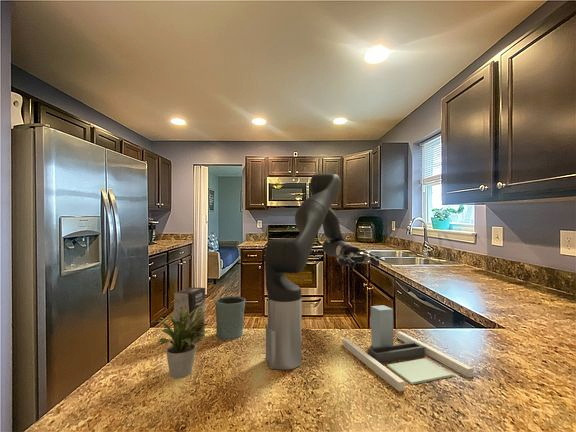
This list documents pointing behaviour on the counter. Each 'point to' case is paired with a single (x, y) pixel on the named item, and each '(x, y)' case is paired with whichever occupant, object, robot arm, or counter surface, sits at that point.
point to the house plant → (181, 344)
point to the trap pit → (397, 352)
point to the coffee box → (190, 307)
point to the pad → (419, 371)
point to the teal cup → (229, 317)
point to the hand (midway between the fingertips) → (366, 264)
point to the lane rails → (393, 378)
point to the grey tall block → (381, 326)
